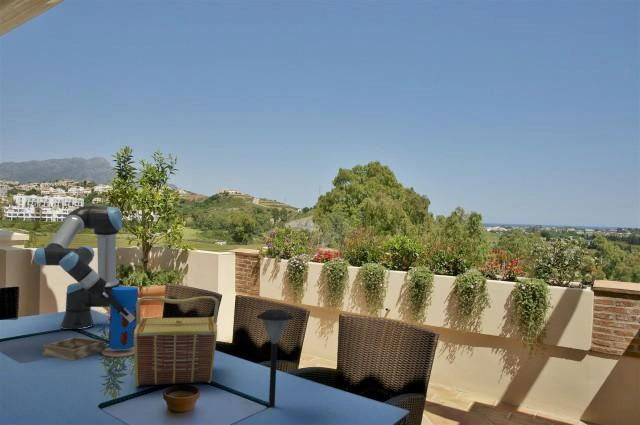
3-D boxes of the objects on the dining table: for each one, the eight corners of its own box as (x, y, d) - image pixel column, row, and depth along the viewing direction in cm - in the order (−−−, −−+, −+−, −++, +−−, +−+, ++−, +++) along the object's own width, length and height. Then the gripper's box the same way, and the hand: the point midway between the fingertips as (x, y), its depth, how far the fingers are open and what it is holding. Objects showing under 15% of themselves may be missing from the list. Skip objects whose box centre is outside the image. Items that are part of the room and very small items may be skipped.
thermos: (139, 343, 206) (142, 287, 207) (127, 350, 195) (130, 290, 196) (116, 342, 207) (119, 286, 208) (103, 348, 196) (106, 289, 197)
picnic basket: (127, 393, 154) (131, 302, 154) (136, 369, 178) (140, 291, 179) (217, 388, 161) (221, 302, 162) (214, 366, 186) (217, 291, 187)
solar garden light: (291, 399, 154) (295, 308, 155) (290, 414, 142) (294, 315, 142) (254, 398, 153) (258, 307, 154) (250, 413, 141) (254, 314, 142)
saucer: (120, 345, 211) (120, 343, 211) (149, 349, 206) (149, 348, 206) (92, 353, 196) (92, 352, 196) (123, 358, 191) (123, 357, 191)
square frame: (75, 345, 207) (75, 336, 207) (104, 350, 202) (104, 341, 202) (42, 355, 192) (43, 345, 192) (73, 360, 186) (73, 350, 186)
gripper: (83, 285, 204) (119, 318, 211) (88, 293, 184) (128, 329, 192) (97, 273, 207) (132, 306, 214) (103, 279, 187) (142, 316, 194)
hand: (130, 317), depth 203 cm, fingers closed on thermos, 11 cm apart
